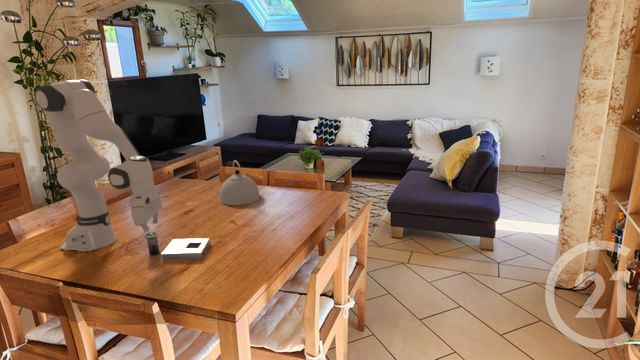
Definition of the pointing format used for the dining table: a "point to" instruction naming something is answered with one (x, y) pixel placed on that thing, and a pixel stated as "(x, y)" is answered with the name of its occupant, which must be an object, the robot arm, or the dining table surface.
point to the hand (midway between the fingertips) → (151, 227)
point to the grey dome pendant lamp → (238, 189)
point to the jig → (186, 249)
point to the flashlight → (152, 242)
